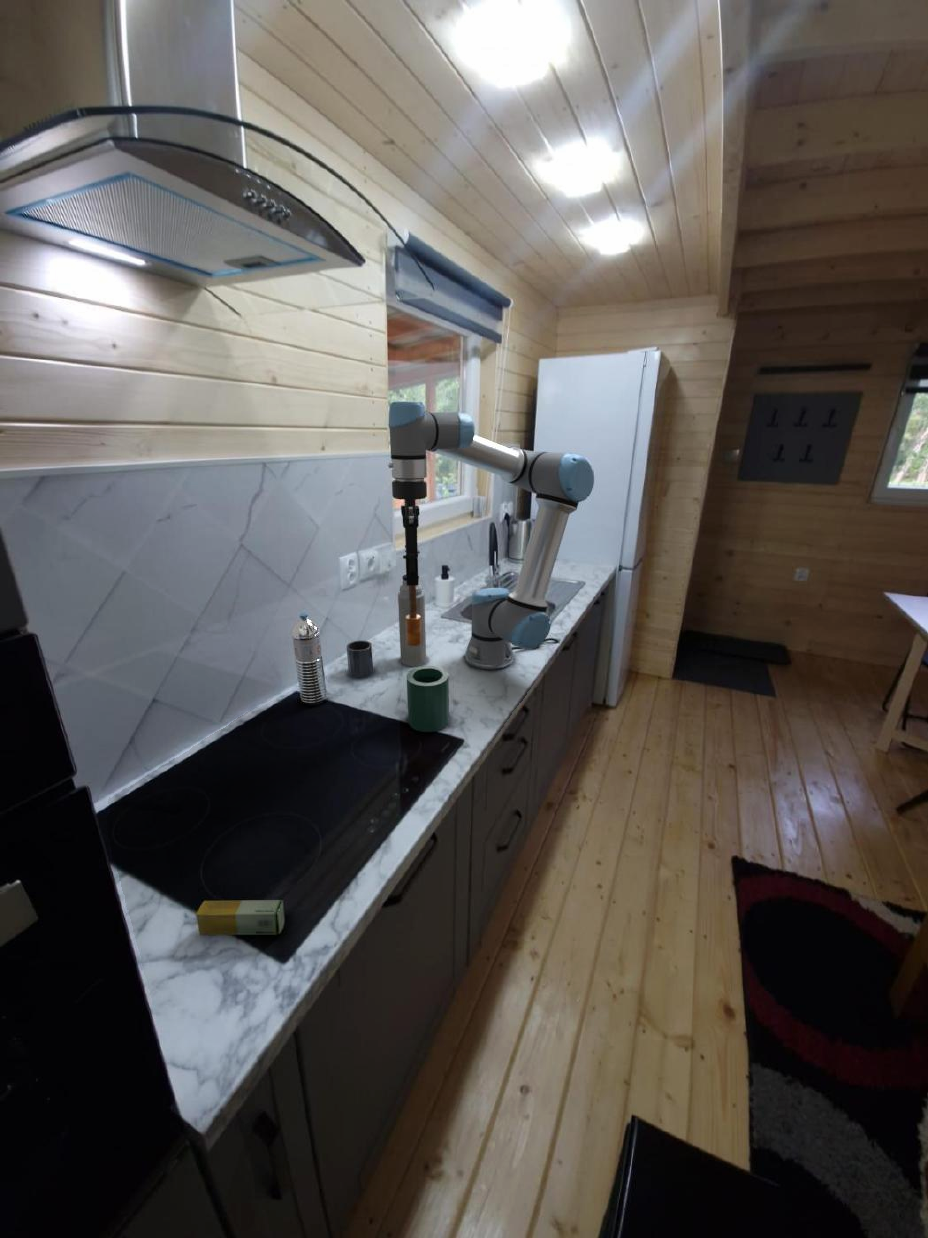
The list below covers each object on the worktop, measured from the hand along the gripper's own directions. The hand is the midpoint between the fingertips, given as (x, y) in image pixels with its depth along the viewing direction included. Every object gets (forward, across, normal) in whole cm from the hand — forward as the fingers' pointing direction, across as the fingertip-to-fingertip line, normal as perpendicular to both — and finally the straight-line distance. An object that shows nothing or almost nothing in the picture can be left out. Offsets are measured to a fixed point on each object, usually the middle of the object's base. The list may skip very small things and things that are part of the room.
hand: (412, 583), depth 116 cm
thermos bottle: (+36, -30, 0) cm, 46 cm away
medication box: (+36, +56, -28) cm, 72 cm away
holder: (+35, -24, -16) cm, 45 cm away
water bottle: (+36, -10, -27) cm, 46 cm away
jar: (+35, +4, +3) cm, 36 cm away
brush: (+15, 0, 0) cm, 15 cm away
